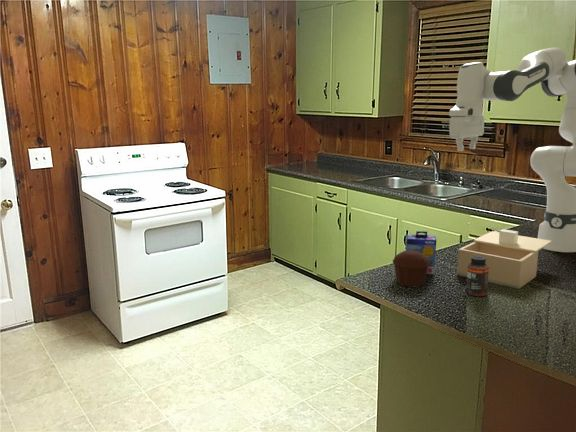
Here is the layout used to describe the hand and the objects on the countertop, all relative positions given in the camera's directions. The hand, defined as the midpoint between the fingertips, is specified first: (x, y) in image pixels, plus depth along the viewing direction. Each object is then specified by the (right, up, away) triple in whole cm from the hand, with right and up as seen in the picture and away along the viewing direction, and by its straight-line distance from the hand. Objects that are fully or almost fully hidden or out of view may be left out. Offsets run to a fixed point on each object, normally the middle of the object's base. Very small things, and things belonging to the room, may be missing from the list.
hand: (466, 150), depth 182 cm
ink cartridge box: (-19, -43, -8) cm, 47 cm away
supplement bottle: (-7, -47, -29) cm, 56 cm away
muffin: (-24, -45, -18) cm, 54 cm away
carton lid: (+13, -32, -7) cm, 36 cm away
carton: (+5, -43, -14) cm, 46 cm away
